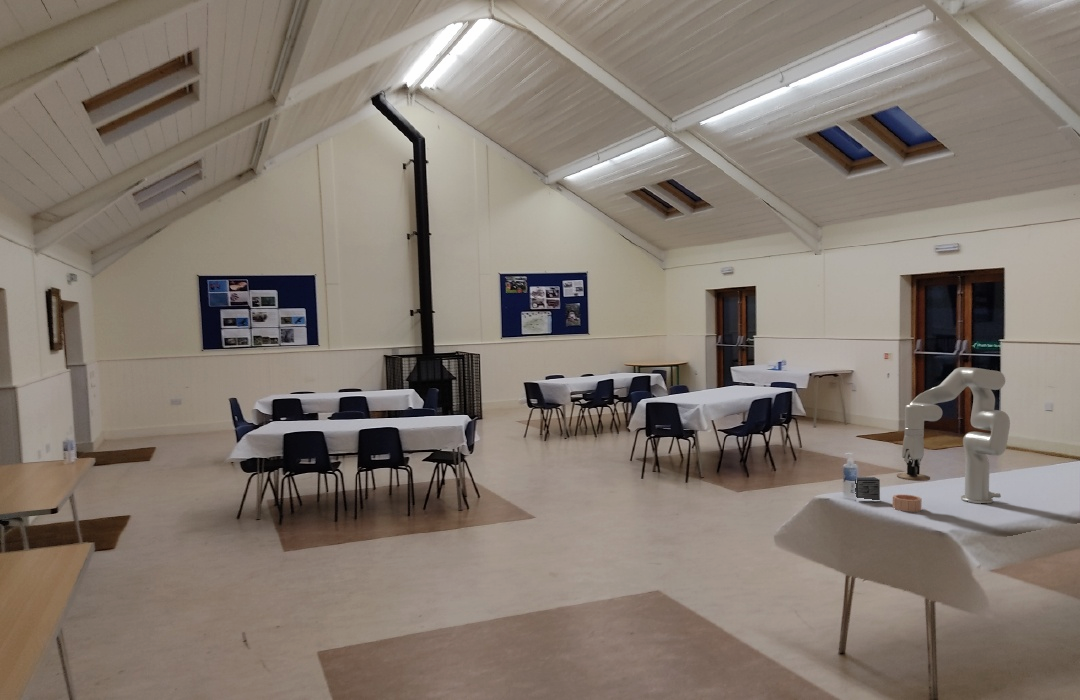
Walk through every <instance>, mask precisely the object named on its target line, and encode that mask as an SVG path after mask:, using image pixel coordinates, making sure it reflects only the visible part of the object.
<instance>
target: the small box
mask: <svg viewBox="0 0 1080 700" xmlns="http://www.w3.org/2000/svg"><path fill="white" fill-rule="evenodd" d="M880 480H881V479H880V478H877V477H875V476H865V477H864V476H863V477H862V476H857V483H856V479H855V484H856V488H855V492H856V493H855V494H856V497H857V498H864V499H872V500H880V501H881V492H880V490H881V488H880V486H881V485H880V484H881V483H880V482H881V481H880Z"/></svg>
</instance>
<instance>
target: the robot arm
mask: <svg viewBox="0 0 1080 700" xmlns="http://www.w3.org/2000/svg"><path fill="white" fill-rule="evenodd" d="M1005 384H1006V376H1005V375H1004V374H1003V373H1002V372H1001V371H998V370H993V369H991V370H990V369H985V368H981V367H979V368H978V367H967V366H963V367H959V366H958V367H957V368H955V369H953V371H952V372H950V374H948V376H946V378H945V379H944V380H943V381H942V382H941V383H940V384H938V385H937V386H934V387H932V388H930V389H927V390H925V391H924V392H921V393H919V394H918V395H917V396H916V397H915V398H913V400H912V401H911V402H910V403H909V404H906V405H904V407H905V408H904V436H903V441H902V447H901V448H902V449H901V457H902V458H903V460H904V462H905V463H906V467H907V468H906V473H907V475H912V476H914V475H915V467H917V475H919V474H921V473H920V472H921V471H920V470H921V469H920V468H921V467H920V466H921V462H922V460H923V458H924V455H925V444H924V441H925V440H924V437H925V436H924V433H925V421H928V422H937V421H939V420H940V419H941V418H942V416H943V410H942V408H941V407H940V406H939V405H937V404H939V403H946V402H949V401H953V400H955V399H956V398H957V397H958V396H959V395H960V394H961V393H962V391H964V390H965V389H966V388H967V387H968V388H969V389H970V391H971V393H972V395H973V400H972V401H973V403H972V408H971V414H970V415H971V416H970V425H971V426H972V427H973V428H975V429H978V430H983V431H990V433H987V432H981V431H969V432H967V433H965V435H964V436H963V438H962V445H963V450H964V456H965V457H964V460H965V467H964V471H965V472H964V495H961V496H960V500H962V501H964V502H967V501H968V503H973V504H981V503H987V504H993V502H994V498H996V499H997V498H1001V496H1002V495H1001V493H999V492H998V493H996V492H992V491H990V459H989V458H988V456H993V457H999V456H1002V455H1003V454H1004V453H1005V452H1006V449H1007V446H1008V440H1009V434H1010V426H1011V420H1010V417H1009V414H1007V413H1006V412H1005V411H1003V410H998V409H995V406H996V397H995V394H994V392H993V390H994V391H996V390H997V391H998V390H1000V389H1002V388H1003V387H1004V386H1005Z"/></svg>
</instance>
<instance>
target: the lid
mask: <svg viewBox="0 0 1080 700" xmlns="http://www.w3.org/2000/svg"><path fill="white" fill-rule="evenodd" d="M896 477H897V478H898V479H902V480H904V481H905V480H906V481H913V482H915V481H917V482H925V481H926V482H927V481H931V476H929V475H926V474H923V473H922V474H921V473H920V474H919V475H917V467H915V475H914V476H912V475H907V472H901V473H897V474H896Z"/></svg>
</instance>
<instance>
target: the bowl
mask: <svg viewBox="0 0 1080 700" xmlns="http://www.w3.org/2000/svg"><path fill="white" fill-rule="evenodd" d="M922 506H923V505H922V498H921V497H919V496H916V495H911V494H894V495H893V496H892V508H893V509H894V508H895V509H894V510H896V509H898V510H897V511H899V510H902V511H901V512H905V511H910V512H909V513H918V512H917V511H919V512H921V511H922V508H923V507H922Z"/></svg>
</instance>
